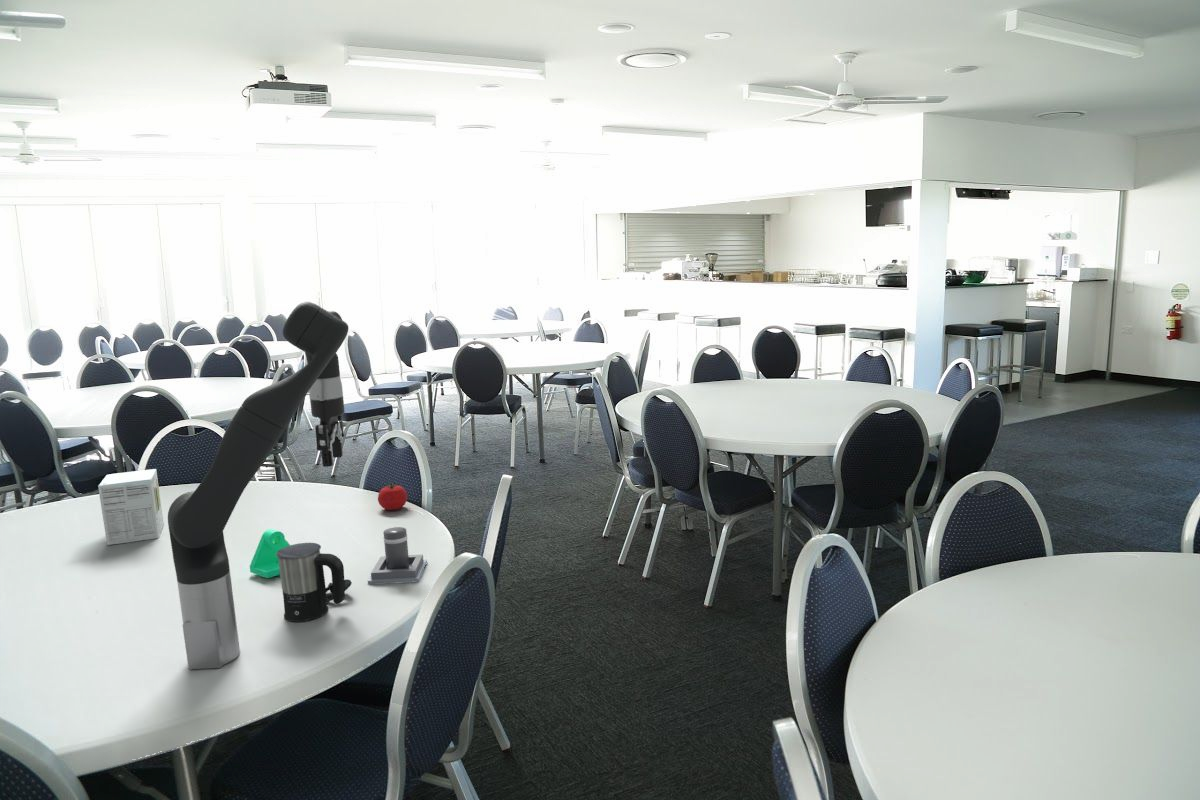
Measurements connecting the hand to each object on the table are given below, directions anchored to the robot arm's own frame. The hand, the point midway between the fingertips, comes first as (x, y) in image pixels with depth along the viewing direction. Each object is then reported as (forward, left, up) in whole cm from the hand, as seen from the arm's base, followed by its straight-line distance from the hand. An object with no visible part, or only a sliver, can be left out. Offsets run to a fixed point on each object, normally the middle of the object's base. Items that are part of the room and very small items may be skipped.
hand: (333, 461), depth 197 cm
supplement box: (+36, +69, -28) cm, 83 cm away
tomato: (+49, -2, -28) cm, 57 cm away
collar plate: (-3, -14, -28) cm, 32 cm away
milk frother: (-20, 0, -28) cm, 35 cm away
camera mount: (+3, +16, -28) cm, 33 cm away
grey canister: (-3, -14, -27) cm, 31 cm away
